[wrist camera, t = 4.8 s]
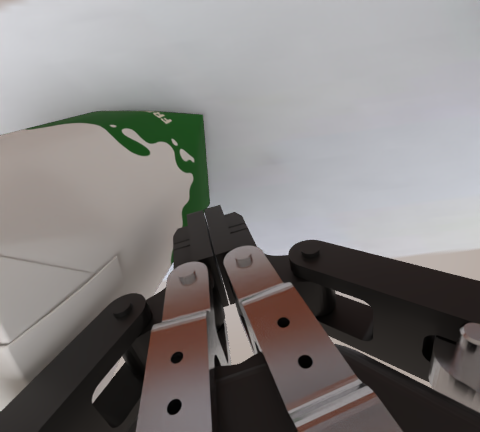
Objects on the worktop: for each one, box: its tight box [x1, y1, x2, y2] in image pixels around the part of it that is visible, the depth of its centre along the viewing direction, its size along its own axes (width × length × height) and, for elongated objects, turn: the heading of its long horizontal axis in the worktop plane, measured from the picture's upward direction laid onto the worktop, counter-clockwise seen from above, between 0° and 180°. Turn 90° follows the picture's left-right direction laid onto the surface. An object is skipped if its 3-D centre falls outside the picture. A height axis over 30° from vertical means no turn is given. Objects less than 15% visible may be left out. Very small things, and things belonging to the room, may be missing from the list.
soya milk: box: [0, 111, 210, 412], centre depth 15 cm, size 9×9×20 cm
